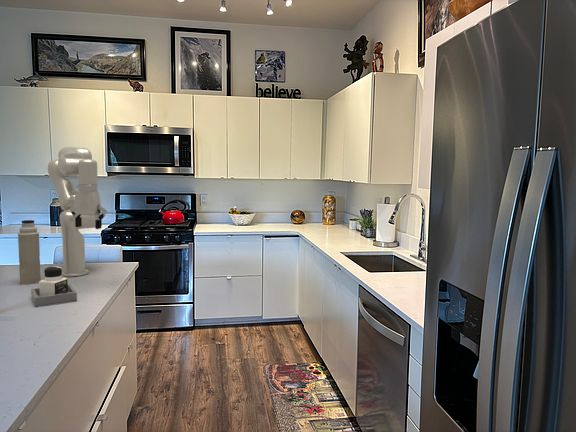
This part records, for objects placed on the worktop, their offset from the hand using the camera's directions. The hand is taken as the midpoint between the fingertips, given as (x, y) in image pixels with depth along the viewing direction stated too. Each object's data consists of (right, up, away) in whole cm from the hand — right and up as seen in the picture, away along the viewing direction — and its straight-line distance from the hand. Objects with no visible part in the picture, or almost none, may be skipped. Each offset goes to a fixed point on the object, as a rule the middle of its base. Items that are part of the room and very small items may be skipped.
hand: (88, 227), depth 182 cm
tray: (-6, -28, -17) cm, 33 cm away
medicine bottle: (-6, -27, -16) cm, 32 cm away
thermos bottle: (-29, -25, +7) cm, 39 cm away
